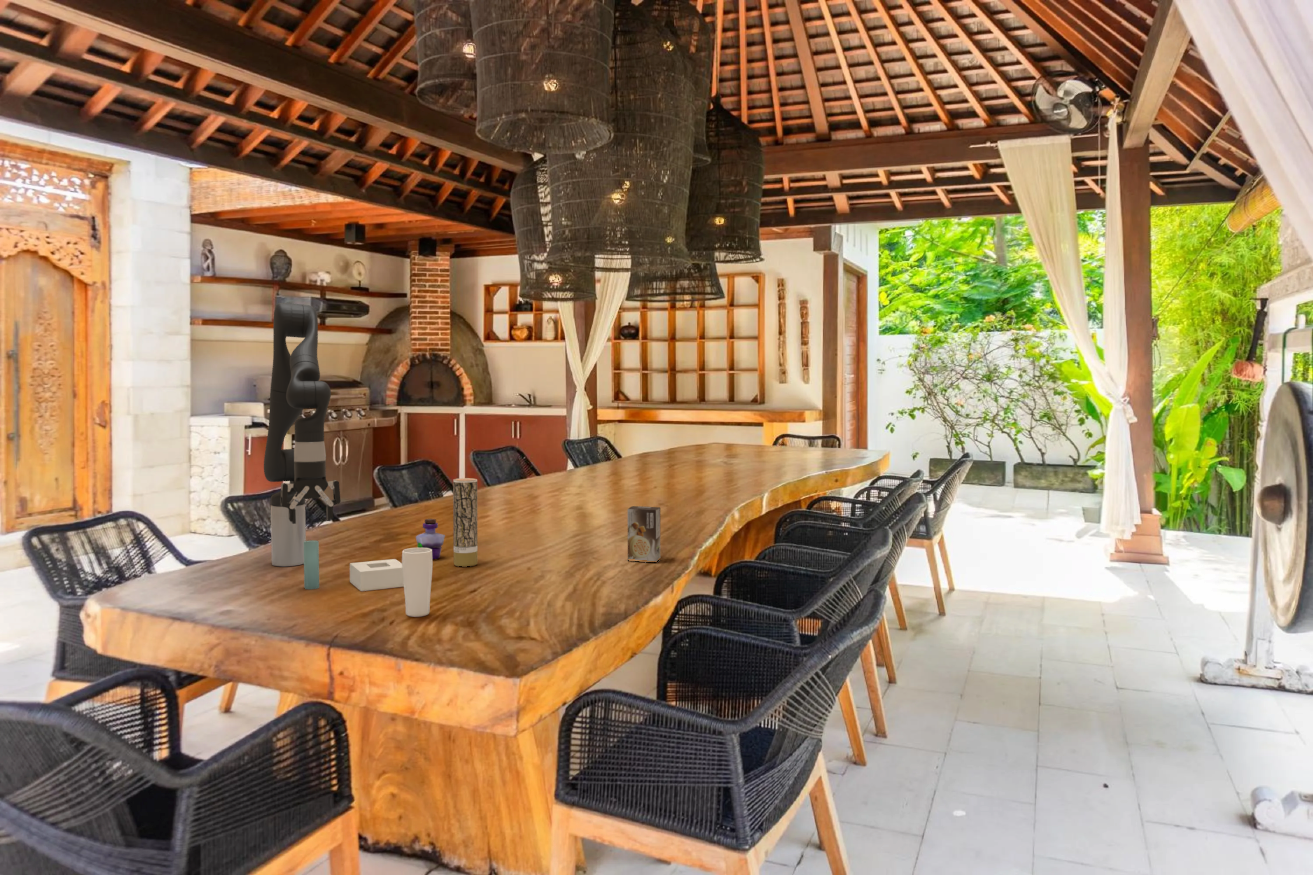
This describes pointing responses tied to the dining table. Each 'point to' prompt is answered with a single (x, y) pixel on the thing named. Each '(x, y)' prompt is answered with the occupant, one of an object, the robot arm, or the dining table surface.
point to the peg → (311, 564)
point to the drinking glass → (417, 580)
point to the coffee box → (644, 533)
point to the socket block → (376, 574)
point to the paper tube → (465, 521)
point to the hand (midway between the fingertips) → (311, 522)
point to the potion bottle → (431, 538)
